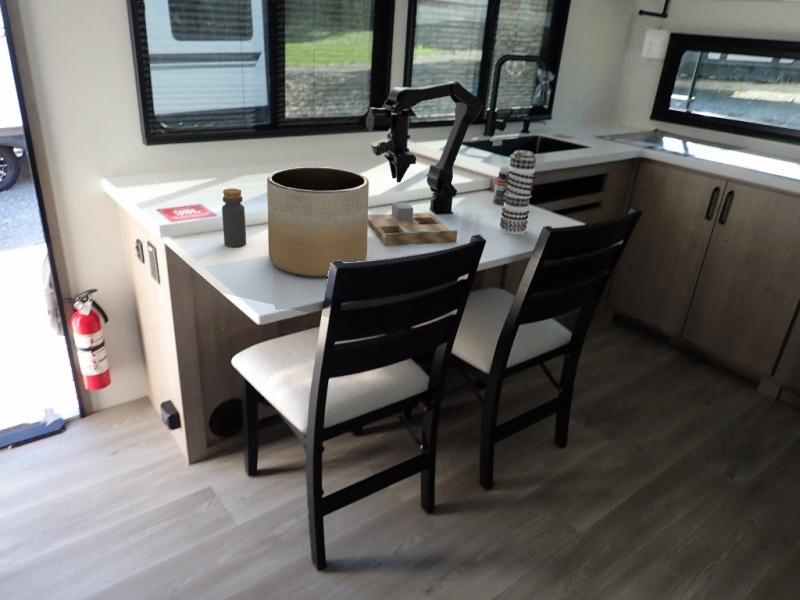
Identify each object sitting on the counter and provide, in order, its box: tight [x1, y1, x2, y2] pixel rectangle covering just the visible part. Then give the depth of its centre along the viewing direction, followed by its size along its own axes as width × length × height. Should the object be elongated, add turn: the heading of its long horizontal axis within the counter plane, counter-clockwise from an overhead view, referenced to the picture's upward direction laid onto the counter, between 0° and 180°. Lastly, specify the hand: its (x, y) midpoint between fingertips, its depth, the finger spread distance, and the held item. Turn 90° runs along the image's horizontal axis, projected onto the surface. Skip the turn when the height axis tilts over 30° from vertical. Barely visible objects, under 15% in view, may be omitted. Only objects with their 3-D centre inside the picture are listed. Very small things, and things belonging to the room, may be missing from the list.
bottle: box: [221, 188, 247, 248], centre depth 159 cm, size 6×6×15 cm
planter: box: [266, 166, 370, 278], centre depth 150 cm, size 25×25×22 cm
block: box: [391, 202, 414, 221], centre depth 185 cm, size 5×6×4 cm
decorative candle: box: [499, 149, 538, 235], centre depth 183 cm, size 9×9×25 cm
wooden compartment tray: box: [368, 212, 458, 247], centre depth 180 cm, size 22×23×4 cm
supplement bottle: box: [492, 170, 509, 205], centre depth 215 cm, size 6×6×11 cm
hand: (396, 180), depth 189 cm, fingers open, 5 cm apart
